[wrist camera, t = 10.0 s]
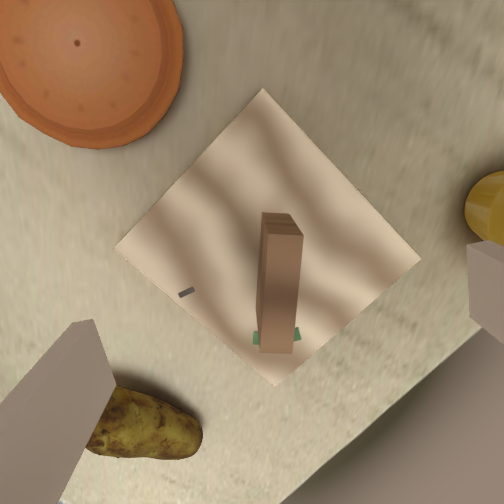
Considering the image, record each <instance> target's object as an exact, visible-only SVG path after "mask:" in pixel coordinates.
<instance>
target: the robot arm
mask: <svg viewBox="0 0 504 504" xmlns="http://www.w3.org/2000/svg"><path fill="white" fill-rule="evenodd" d="M466 249H467V269H468V289H469V310H470V317H471V318H472V319H473V320H474V321H476V322H477V323H478V324H479V325H480V326H482V327H483V328H484V329H485V330H487V331H488V332H489V333H490V334H492V335H493V336H494V337H495V338H497V340H499V341H500V342H501V343H503V344H504V246H501V245H499V244H497V243H495V242H492V241H490V240H486V241H481V242H476V243H471V244H466ZM115 387H116V382H115V379H114V376H113V374H112V371H111V368H110V365H109V362H108V359H107V357H106V354H105V351H104V348H103V345H102V343H101V340H100V337H99V334H98V331H97V329H96V326H95V323H94V320H93V319H90V320H85V321H80V322H75V323H72V324H71V325H70V326H69V327H68V328H67V329H66V330H65V332H64V333H63V334H62V335H61V336H60V337H59V338H58V339H57V341H56V342H55V343H54V344H53V345H52V346H51V347H50V348H49V350H48V351H47V352H46V353H45V354H44V355H43V356H42V357H41V359H40V360H39V361H38V362H37V363H36V364H35V365H34V366H33V368H32V369H31V370H30V371H29V372H28V373H27V374H26V375H25V377H24V378H23V379H22V380H21V381H20V382H19V383H18V384H17V386H16V387H15V388H14V389H13V390H12V391H11V392H10V393H9V395H8V396H7V397H6V398H5V399H4V400H3V401H2V402H1V404H0V504H57V503H58V501H59V499H60V497H61V495H62V493H63V491H64V489H65V487H66V485H67V483H68V481H69V479H70V477H71V475H72V473H73V471H74V469H75V467H76V465H77V463H78V461H79V459H80V457H81V455H82V453H83V451H84V449H85V447H86V445H87V443H88V441H89V439H90V437H91V435H92V433H93V431H94V429H95V427H96V425H97V423H98V421H99V419H100V417H101V415H102V413H103V411H104V409H105V407H106V405H107V403H108V401H109V399H110V397H111V395H112V393H113V391H114V389H115Z"/></svg>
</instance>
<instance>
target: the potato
mask: <svg viewBox="0 0 504 504" xmlns="http://www.w3.org/2000/svg"><path fill="white" fill-rule="evenodd" d="M202 438H203V431H202V428H201V426H200V424H199V423H198V422H197V421H196V419H195V418H194V417H193V416H191V415H189V414H187V413H182V412H181V411H180V410H179V409H177V408H174V407H173V406H171V405H169V404H168V403H166V402H164V401H162V400H160V399H158V398H155V397H152V396H149V395H146V394H142V393H139V392H135V391H132V390H129V389H126V388H123V387H120V386H116V387H115V389H114V391H113V393H112V395H111V397H110V399H109V401H108V403H107V405H106V407H105V409H104V411H103V413H102V415H101V417H100V419H99V421H98V423H97V425H96V427H95V429H94V431H93V433H92V435H91V437H90V439H89V441H88V443H87V445H86V447H85V448H86V449H88V450H89V451H91V452H93V453H95V454H98V455H104V456H112V457H117V458H119V457H124V458H136V457H149V458H155V459H162V460H176V459H177V460H179V459H184V458H188V457H191V456H193V455H194V454H195V453H196V452H197V451H198V449H199V447H200V445H201V443H202Z"/></svg>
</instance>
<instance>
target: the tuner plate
mask: <svg viewBox="0 0 504 504" xmlns="http://www.w3.org/2000/svg"><path fill="white" fill-rule="evenodd" d="M262 212H268V213H287V214H290V215H291V217H292V218H293V220H294V221H295V223H296V224H297V226H298V227H299V229H300V231H301V232H302V234H303V235H304V240H303V250H302V260H301V270H300V281H299V291H298V301H297V311H296V322H295V332H294V342H293V352H292V354H277V353H260V349H259V338H258V328H257V318H256V293H257V278H258V263H259V248H260V233H261V218H262ZM113 249H114V250H115V251H116V252H117V253H119V254H120V255H121V256H122V257H123V258H124V259H126V260H127V261H128V262H129V263H130V264H131V265H133V266H134V267H135V268H136V269H137V270H139V271H140V272H141V273H142V274H143V275H144V276H146V277H147V278H148V279H149V280H150V281H151V282H153V283H154V284H155V285H156V286H157V287H158V288H160V289H161V290H162V291H163V292H164V293H165V294H167V295H168V296H169V297H170V298H171V299H172V300H174V301H175V302H176V303H177V304H178V305H179V306H181V307H182V308H183V309H184V310H185V311H186V312H188V313H189V314H190V315H191V316H192V317H194V318H195V319H196V320H197V321H198V322H199V323H201V324H202V325H203V326H204V327H205V328H206V329H208V330H209V331H210V332H211V333H212V334H213V335H215V336H216V337H217V338H218V339H219V340H220V341H222V342H223V343H224V344H225V345H226V346H227V347H229V348H230V349H231V350H232V351H233V352H234V353H236V354H237V355H238V356H239V357H240V358H241V359H243V360H244V361H245V362H246V363H247V364H249V365H250V366H251V367H252V368H253V369H254V370H256V371H257V372H258V373H259V374H260V375H261V376H263V377H264V378H265V379H266V380H267V381H268V382H270V383H271V384H272V385H273V386H274V387H276V386H277V385H278V384H280V383H281V382H282V381H283V380H284V379H285V378H286V377H288V376H289V375H290V374H291V373H292V372H293V371H294V370H295V369H297V368H298V367H299V366H300V365H301V364H302V363H303V362H305V361H306V360H307V359H308V358H309V357H310V356H311V355H313V354H314V353H315V352H316V351H317V350H318V349H319V348H320V347H322V346H323V345H324V344H325V343H326V342H327V341H328V340H330V339H331V338H332V337H333V336H334V335H335V334H336V333H337V332H339V331H340V330H341V329H342V328H343V327H344V326H345V325H347V324H348V323H349V322H350V321H351V320H352V319H353V318H354V317H356V316H357V315H358V314H359V313H360V312H361V311H362V310H364V309H365V308H366V307H367V306H368V305H369V304H370V303H372V302H373V301H374V300H375V299H376V298H377V297H378V296H379V295H381V294H382V293H383V292H384V291H385V290H386V289H387V288H389V287H390V286H391V285H392V284H393V283H394V282H395V281H396V280H398V279H399V278H400V277H401V276H402V275H403V274H404V273H406V272H407V271H408V270H409V269H410V268H411V267H412V266H414V265H415V264H416V263H417V262H418V261H419V260H420V259H421V258H420V257H419V256H418V255H417V254H416V253H415V252H414V250H413V249H412V248H411V247H410V246H409V245H408V244H407V243H406V242H405V241H404V240H403V239H402V238H401V236H400V235H399V234H398V233H397V232H396V231H395V230H394V229H393V228H392V227H391V226H390V225H389V224H388V222H387V221H386V220H385V219H384V218H383V217H382V216H381V215H380V214H379V213H378V212H377V211H376V210H375V208H374V207H373V206H372V205H371V204H370V203H369V202H368V201H367V200H366V199H365V198H364V197H363V196H362V194H361V193H360V192H359V191H358V190H357V189H356V188H355V187H354V186H353V185H352V184H351V183H350V181H349V180H348V179H347V178H346V177H345V176H344V175H343V174H342V173H341V172H340V171H339V170H338V169H337V167H336V166H335V165H334V164H333V163H332V162H331V161H330V160H329V159H328V158H327V157H326V156H325V155H324V153H323V152H322V151H321V150H320V149H319V148H318V147H317V146H316V145H315V144H314V143H313V142H312V141H311V139H310V138H309V137H308V136H307V135H306V134H305V133H304V132H303V131H302V130H301V129H300V128H299V127H298V125H297V124H296V123H295V122H294V121H293V120H292V119H291V118H290V117H289V116H288V115H287V114H286V113H285V111H284V110H283V109H282V108H281V107H280V106H279V105H278V104H277V103H276V102H275V101H274V100H273V99H272V97H271V96H270V95H269V94H268V93H267V92H266V91H265V90H264V89H263V88H262V89H261V91H260V92H259V93H258V94H257V95H256V96H255V97H254V98H253V99H252V100H251V101H250V102H249V103H248V104H247V106H246V107H245V108H244V109H243V110H242V111H241V112H240V113H239V114H238V115H237V116H236V117H235V118H234V120H233V121H232V122H231V123H230V124H229V125H228V126H227V127H226V128H225V129H224V130H223V131H222V132H221V133H220V135H219V136H218V137H217V138H216V139H215V140H214V141H213V142H212V143H211V144H210V145H209V146H208V147H207V149H206V150H205V151H204V152H203V153H202V154H201V155H200V156H199V157H198V158H197V159H196V160H195V161H194V162H193V164H192V165H191V166H190V167H189V168H188V169H187V170H186V171H185V172H184V173H183V174H182V175H181V176H180V178H179V179H178V180H177V181H176V182H175V183H174V184H173V185H172V186H171V187H170V188H169V189H168V190H167V191H166V193H165V194H164V195H163V196H162V197H161V198H160V199H159V200H158V201H157V202H156V203H155V204H154V205H153V207H152V208H151V209H150V210H149V211H148V212H147V213H146V214H145V215H144V216H143V217H142V218H141V219H140V220H139V222H138V223H137V224H136V225H135V226H134V227H133V228H132V229H131V230H130V231H129V232H128V233H127V234H126V236H125V237H124V238H123V239H122V240H121V241H120V242H119V243H118V244H117V245H116V246H115V247H114V248H113Z"/></svg>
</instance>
